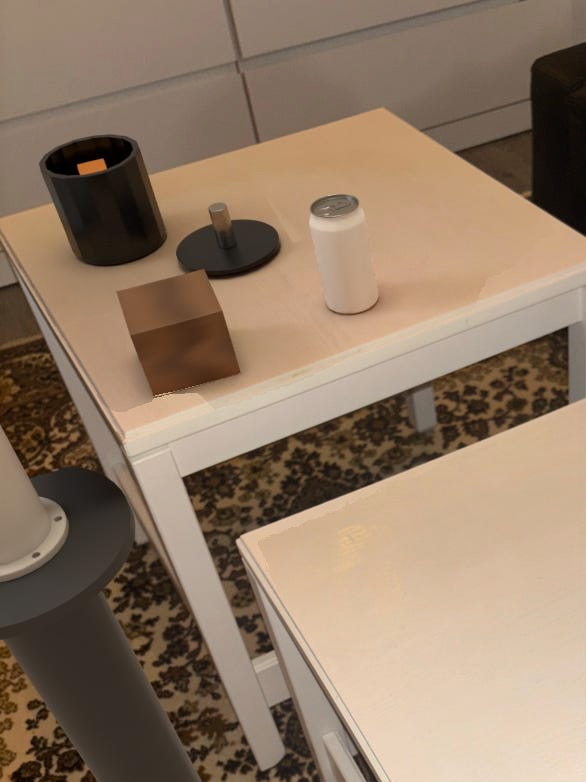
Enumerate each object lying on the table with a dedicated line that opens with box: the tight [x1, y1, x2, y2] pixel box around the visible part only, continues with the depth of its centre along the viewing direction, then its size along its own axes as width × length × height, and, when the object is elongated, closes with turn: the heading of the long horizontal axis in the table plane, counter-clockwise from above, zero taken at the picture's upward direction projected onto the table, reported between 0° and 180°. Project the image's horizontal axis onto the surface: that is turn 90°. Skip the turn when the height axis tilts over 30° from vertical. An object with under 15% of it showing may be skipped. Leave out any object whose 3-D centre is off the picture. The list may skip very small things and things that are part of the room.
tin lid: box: [175, 202, 281, 276], centre depth 128 cm, size 14×14×6 cm
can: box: [308, 193, 379, 315], centre depth 115 cm, size 6×6×12 cm
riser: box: [116, 269, 242, 396], centre depth 111 cm, size 10×10×8 cm
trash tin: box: [38, 133, 167, 266], centre depth 130 cm, size 13×13×12 cm
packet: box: [77, 159, 107, 175], centre depth 131 cm, size 4×7×9 cm, turn 22°
